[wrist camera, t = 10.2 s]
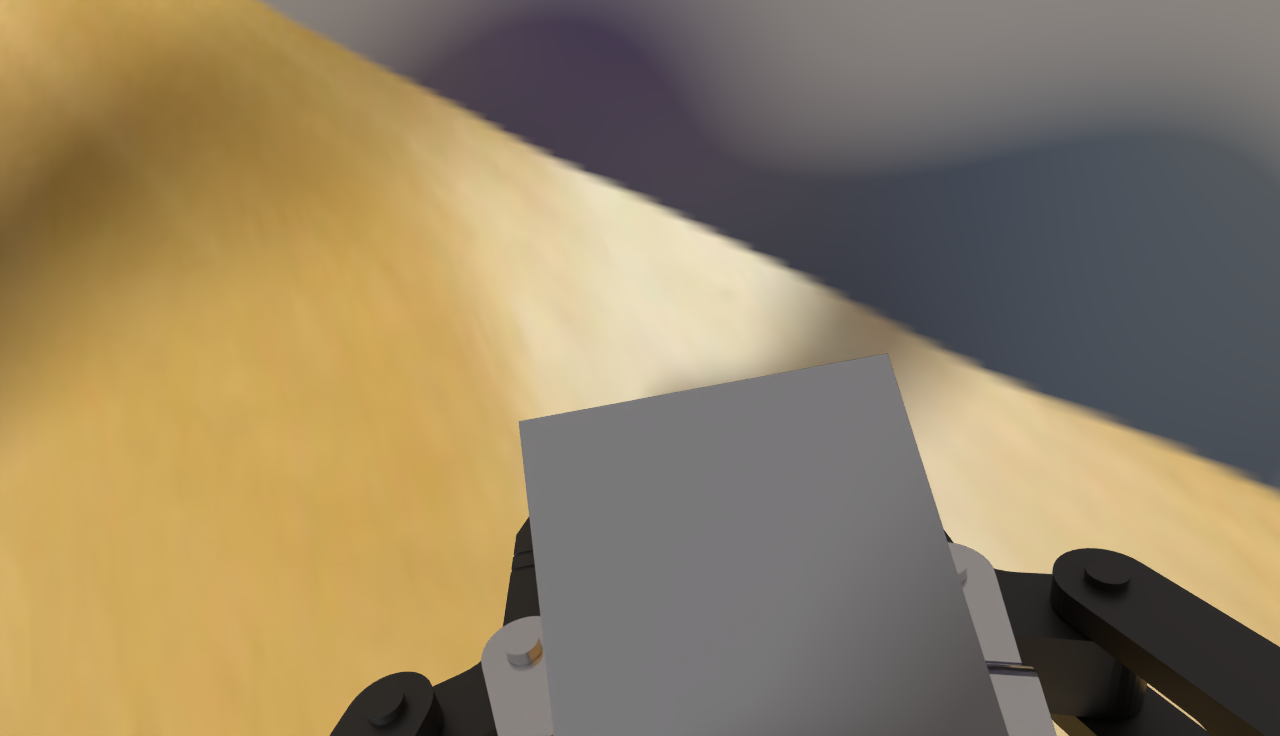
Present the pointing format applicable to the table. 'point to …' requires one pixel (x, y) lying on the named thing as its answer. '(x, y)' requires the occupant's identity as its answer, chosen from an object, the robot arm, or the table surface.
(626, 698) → the grey-capped square pillar
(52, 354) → the table surface
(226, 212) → the table surface
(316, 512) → the table surface
